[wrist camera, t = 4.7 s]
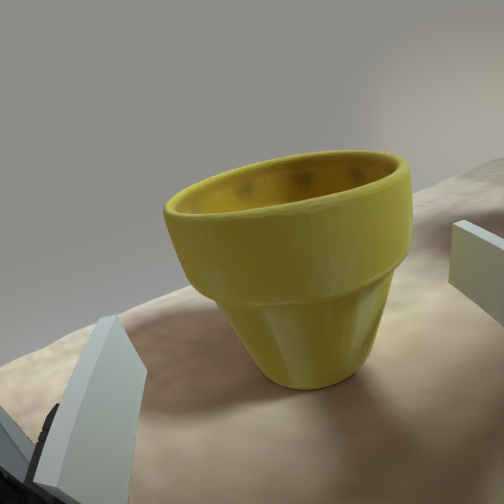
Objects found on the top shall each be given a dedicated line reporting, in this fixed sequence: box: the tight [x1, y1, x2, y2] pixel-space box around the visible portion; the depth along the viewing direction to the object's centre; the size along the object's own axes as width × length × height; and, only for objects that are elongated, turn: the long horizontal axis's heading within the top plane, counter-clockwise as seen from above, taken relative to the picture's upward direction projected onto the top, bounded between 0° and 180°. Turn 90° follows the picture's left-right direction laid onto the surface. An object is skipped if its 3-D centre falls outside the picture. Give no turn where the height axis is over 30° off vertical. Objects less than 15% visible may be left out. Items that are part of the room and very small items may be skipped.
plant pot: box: [163, 150, 413, 390], centre depth 14 cm, size 10×10×10 cm
